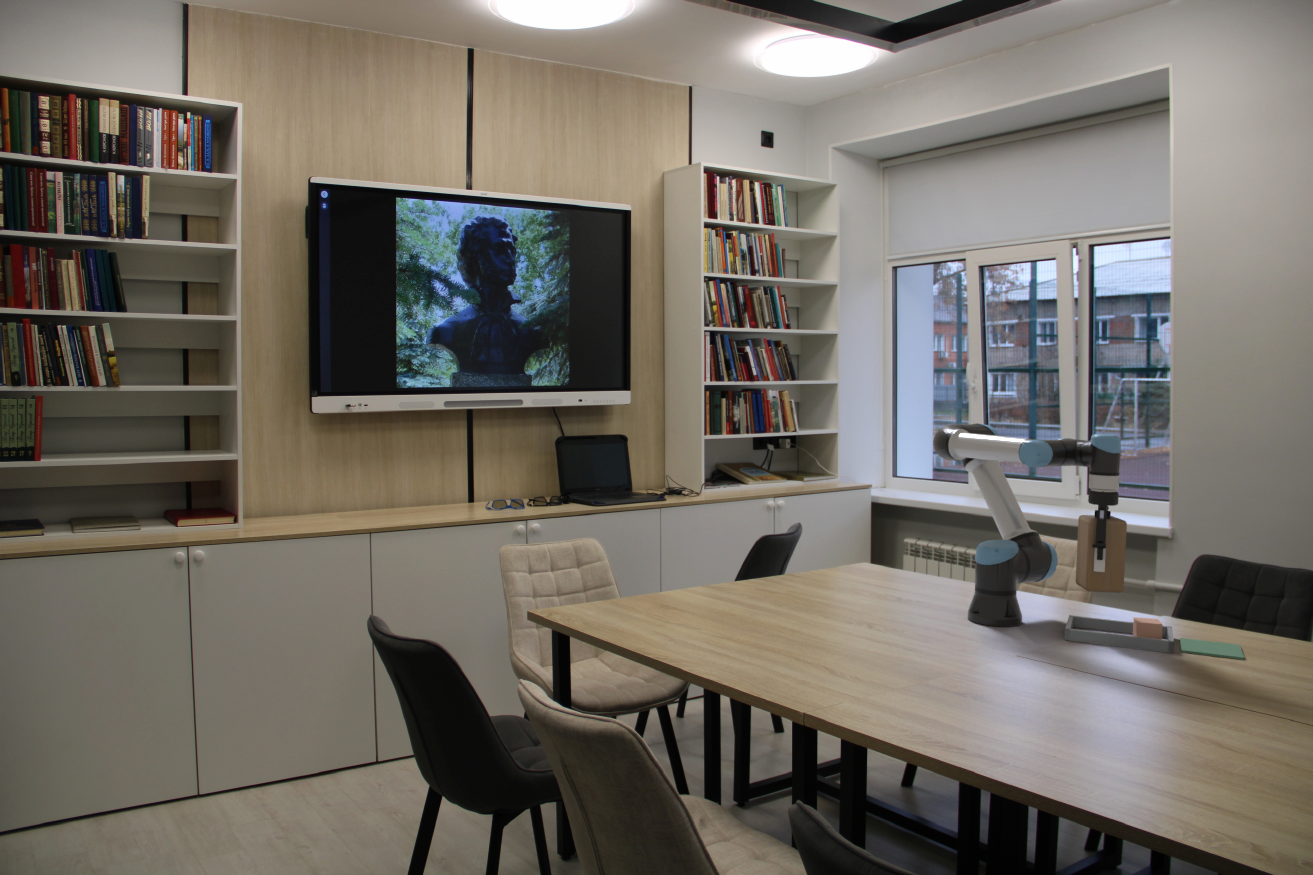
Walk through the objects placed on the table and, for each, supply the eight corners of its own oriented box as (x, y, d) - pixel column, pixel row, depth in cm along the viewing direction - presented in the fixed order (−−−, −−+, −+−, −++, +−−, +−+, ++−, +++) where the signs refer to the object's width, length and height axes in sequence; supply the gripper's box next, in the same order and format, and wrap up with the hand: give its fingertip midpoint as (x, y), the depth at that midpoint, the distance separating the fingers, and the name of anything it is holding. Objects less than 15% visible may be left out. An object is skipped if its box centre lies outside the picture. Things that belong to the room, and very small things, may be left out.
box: (1136, 644, 254) (1137, 622, 253) (1132, 638, 259) (1133, 617, 259) (1161, 646, 252) (1162, 624, 252) (1156, 640, 258) (1157, 619, 257)
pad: (1181, 652, 246) (1181, 650, 246) (1179, 639, 258) (1179, 637, 258) (1244, 659, 239) (1244, 657, 239) (1239, 646, 252) (1239, 644, 252)
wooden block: (1111, 585, 265) (1114, 515, 264) (1124, 593, 255) (1128, 520, 254) (1074, 584, 266) (1077, 514, 265) (1086, 592, 256) (1090, 519, 255)
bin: (1064, 639, 257) (1064, 629, 257) (1068, 625, 273) (1069, 615, 273) (1173, 653, 245) (1174, 641, 245) (1171, 637, 261) (1172, 626, 261)
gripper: (1117, 495, 247) (1114, 576, 248) (1119, 486, 268) (1116, 561, 269) (1086, 493, 250) (1082, 573, 251) (1090, 485, 271) (1087, 559, 273)
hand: (1100, 567), depth 260 cm, fingers closed on wooden block, 12 cm apart
